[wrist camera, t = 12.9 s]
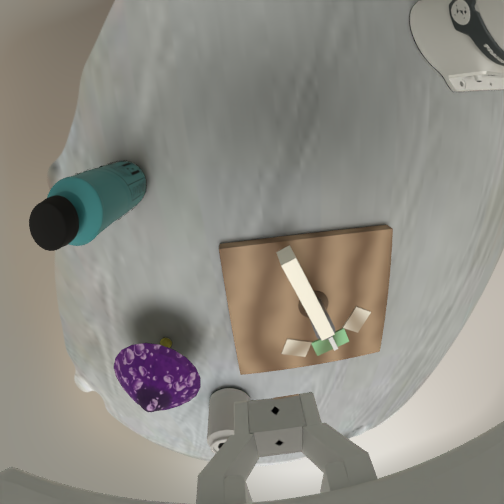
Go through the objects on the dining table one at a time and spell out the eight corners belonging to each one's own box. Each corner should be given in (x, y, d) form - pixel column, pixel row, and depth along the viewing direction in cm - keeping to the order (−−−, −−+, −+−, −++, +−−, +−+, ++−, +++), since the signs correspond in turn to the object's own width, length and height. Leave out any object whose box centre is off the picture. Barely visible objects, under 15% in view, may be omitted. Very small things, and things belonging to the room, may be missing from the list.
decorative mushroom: (185, 378, 50) (174, 446, 36) (120, 346, 47) (92, 411, 33) (219, 331, 46) (215, 403, 32) (146, 293, 43) (115, 358, 29)
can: (206, 385, 50) (202, 439, 39) (248, 383, 51) (252, 436, 39) (213, 411, 53) (211, 461, 42) (251, 408, 53) (255, 459, 42)
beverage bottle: (157, 165, 37) (87, 195, 18) (144, 213, 39) (76, 279, 20) (112, 153, 36) (19, 174, 17) (101, 200, 38) (14, 253, 19)
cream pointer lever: (341, 342, 46) (354, 369, 39) (327, 349, 46) (338, 377, 40) (288, 236, 39) (299, 256, 33) (270, 246, 39) (277, 267, 33)
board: (386, 224, 41) (393, 229, 39) (375, 344, 49) (380, 352, 47) (219, 243, 41) (218, 249, 39) (240, 366, 49) (240, 375, 47)
